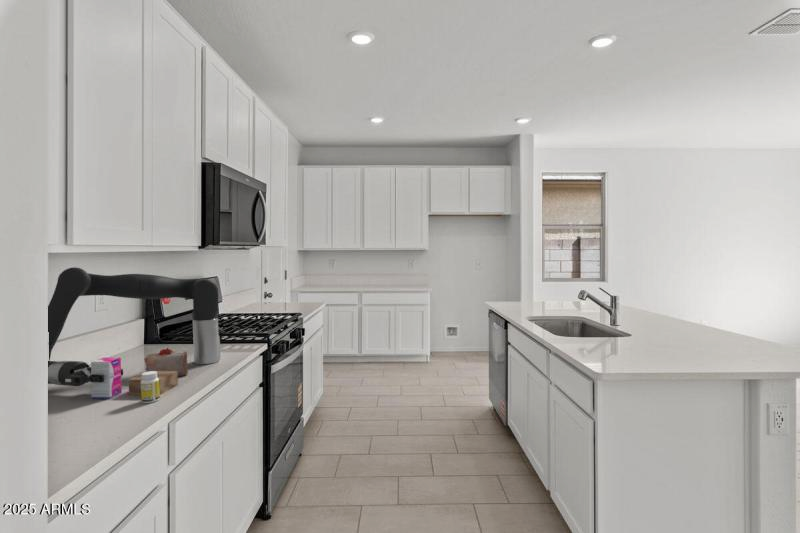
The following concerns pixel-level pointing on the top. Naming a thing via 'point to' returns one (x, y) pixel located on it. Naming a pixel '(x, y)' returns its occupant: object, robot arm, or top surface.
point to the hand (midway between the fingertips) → (112, 375)
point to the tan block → (165, 382)
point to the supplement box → (106, 378)
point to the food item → (167, 361)
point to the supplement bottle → (150, 387)
